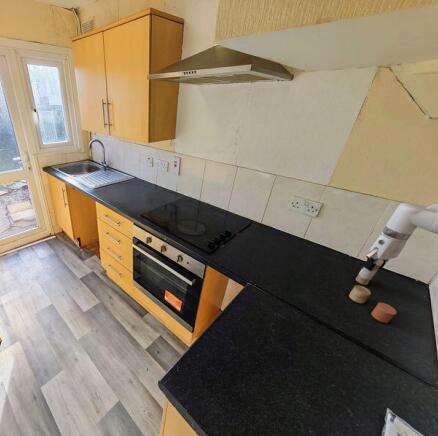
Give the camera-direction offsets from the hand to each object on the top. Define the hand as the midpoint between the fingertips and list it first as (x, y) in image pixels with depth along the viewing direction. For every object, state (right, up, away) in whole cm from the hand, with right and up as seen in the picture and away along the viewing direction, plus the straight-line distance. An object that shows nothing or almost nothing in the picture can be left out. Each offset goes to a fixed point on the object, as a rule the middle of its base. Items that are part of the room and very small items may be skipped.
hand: (372, 267), depth 98 cm
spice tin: (-11, -12, -4) cm, 16 cm away
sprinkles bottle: (0, -8, +5) cm, 9 cm away
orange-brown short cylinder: (-9, -16, -12) cm, 22 cm away
